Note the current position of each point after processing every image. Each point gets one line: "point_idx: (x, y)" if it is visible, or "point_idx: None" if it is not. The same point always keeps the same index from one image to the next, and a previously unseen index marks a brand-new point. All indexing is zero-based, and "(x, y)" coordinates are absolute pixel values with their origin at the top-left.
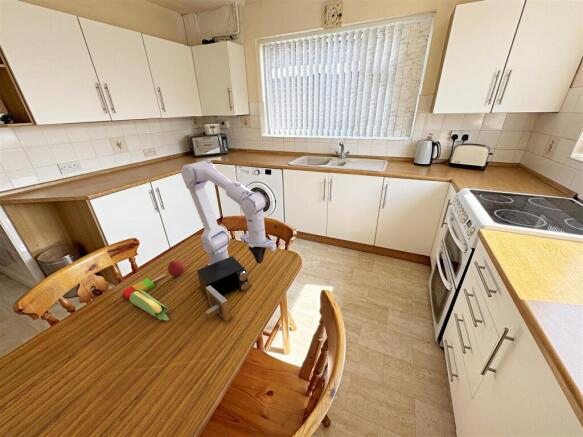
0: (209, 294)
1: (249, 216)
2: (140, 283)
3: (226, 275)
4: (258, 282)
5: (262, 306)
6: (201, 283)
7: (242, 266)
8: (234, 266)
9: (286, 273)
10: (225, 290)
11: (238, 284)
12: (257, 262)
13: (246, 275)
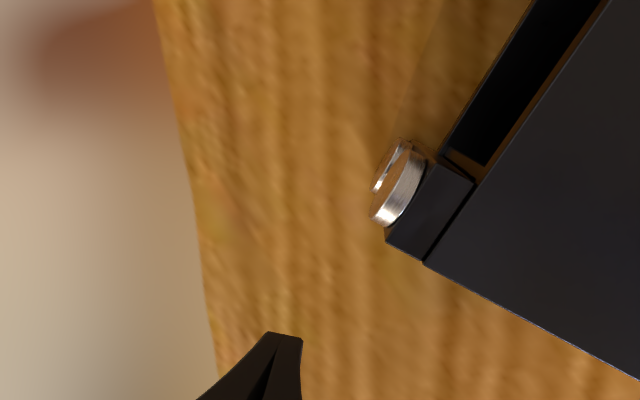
0: None
1: None
2: None
3: (546, 91)
4: (346, 245)
5: (217, 84)
6: None
7: (450, 276)
8: (537, 252)
9: (243, 351)
10: (514, 95)
11: (430, 151)
12: (286, 339)
13: (373, 207)
